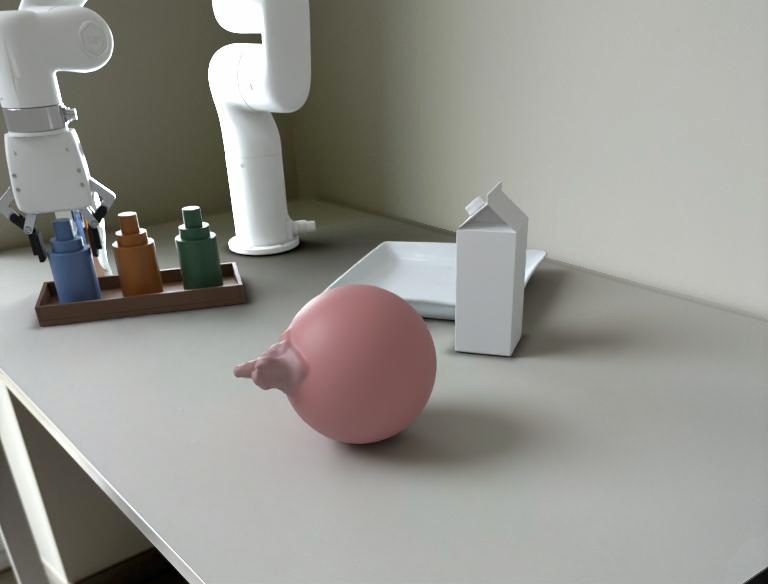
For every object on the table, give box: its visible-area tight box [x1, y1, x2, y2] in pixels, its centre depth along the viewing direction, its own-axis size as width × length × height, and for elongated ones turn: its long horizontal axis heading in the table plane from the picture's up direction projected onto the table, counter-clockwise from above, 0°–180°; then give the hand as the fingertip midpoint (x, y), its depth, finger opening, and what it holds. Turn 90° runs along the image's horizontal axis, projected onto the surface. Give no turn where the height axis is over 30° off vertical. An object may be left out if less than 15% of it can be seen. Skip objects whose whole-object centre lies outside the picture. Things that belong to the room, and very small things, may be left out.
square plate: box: [320, 240, 548, 321], centre depth 118 cm, size 27×27×4 cm
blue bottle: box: [46, 218, 102, 304], centre depth 116 cm, size 6×6×12 cm
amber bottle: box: [111, 211, 164, 297], centre depth 117 cm, size 6×6×12 cm
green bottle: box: [174, 205, 224, 290], centre depth 119 cm, size 6×6×12 cm
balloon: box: [232, 284, 438, 445], centre depth 78 cm, size 15×20×15 cm
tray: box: [34, 261, 246, 327], centre depth 120 cm, size 29×12×3 cm, turn 104°
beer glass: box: [54, 192, 114, 276], centre depth 126 cm, size 7×7×15 cm
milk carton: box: [454, 180, 529, 357], centre depth 97 cm, size 7×7×19 cm
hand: (70, 256), depth 115 cm, fingers open, 6 cm apart
